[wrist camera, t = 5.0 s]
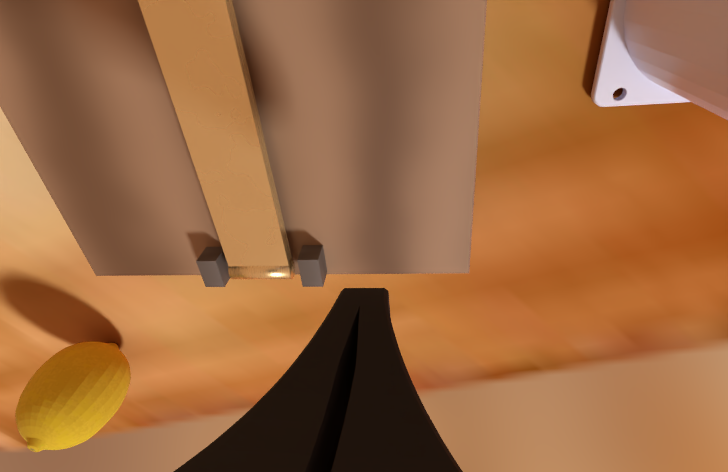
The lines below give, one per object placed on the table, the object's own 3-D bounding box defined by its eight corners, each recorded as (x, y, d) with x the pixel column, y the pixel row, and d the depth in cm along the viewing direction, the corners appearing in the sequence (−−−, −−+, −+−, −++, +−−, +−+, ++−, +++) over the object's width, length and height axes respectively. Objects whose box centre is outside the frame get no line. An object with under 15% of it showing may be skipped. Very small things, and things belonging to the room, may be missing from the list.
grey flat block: (481, -120, 14) (506, -149, 11) (462, 238, 22) (473, 295, 19) (-19, -56, 17) (-145, -61, 13) (127, 244, 25) (76, 295, 21)
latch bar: (229, -24, 14) (217, -23, 13) (296, 270, 21) (291, 283, 20) (146, -16, 14) (129, -14, 13) (239, 270, 21) (231, 283, 20)
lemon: (61, 321, 30) (-39, 423, 23) (127, 314, 29) (42, 420, 22) (103, 371, 33) (24, 475, 26) (164, 367, 32) (98, 474, 25)
